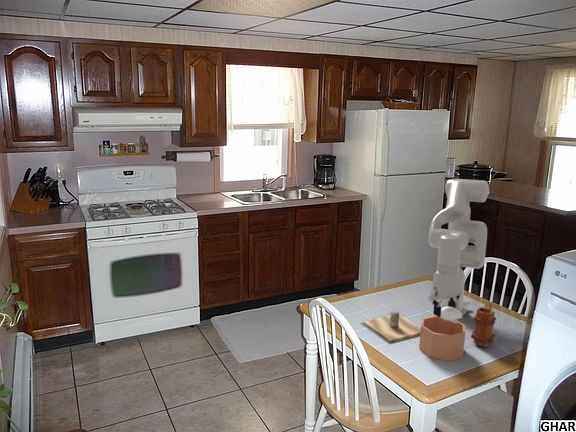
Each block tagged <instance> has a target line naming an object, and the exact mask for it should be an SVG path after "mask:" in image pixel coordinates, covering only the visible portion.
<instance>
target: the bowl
mask: <svg viewBox="0 0 576 432" xmlns="http://www.w3.org/2000/svg"><path fill="white" fill-rule="evenodd" d="M453 321H455V322H457V323H454V322H451V321H450V320H449V321H448V320H444V319H442V318H441V317H438V316H436V315H433V316H428V317H424V318H423V317H422V318H421V325H420V328H421V331H420V337H419V347H418V349H419V350H420V351H422V352H423V353H424V354H426V355H427V356H429V358H430V359H434V360H440V361H445V362H451V361H455V360H459V359H462V358H464V350H465V348H464V347H465V337H466V324H465V323H462V322H460V321H459V320H458V319H457V320H453Z"/></svg>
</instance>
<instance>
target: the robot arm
mask: <svg viewBox="0 0 576 432" xmlns="http://www.w3.org/2000/svg"><path fill="white" fill-rule="evenodd" d="M489 191H490V186H489V183H488V181H486V180H483V179H482V180H479V179H465V178H464V179H463V178H451V179H448V180H447V181H446V183H445V194H446V198H447V200H446V206H445V208H443V209H442V210H440V211H439V212H438V213H437V214H436V215H435V216H434V217H433V218H432V221H431V222H430V226H429V231H428V238H427V240H428V244H429V246H430V247H432V248H434V249H438V253H437V255H438V256H437V266H436V271H435V272H434V274H433V276H432V277H433V279H432V283H431V288H430V289H431V291H430V294H429V295H428V300H429V301H430V302H431V303H432V305H433V316H438V317H440V316H441V308H443V307H453V308H456V309H457V310H459V311H461V313H462V317H463V316H465V315H466V309H465V307H466V306H470V305H471V301H469V300H467V301H464V293H465V281H466V275H465V272H464V270H463V269H462V268H469V269H481V268H483V266H484V264H485V259H486V249H487V240H488V227H487V224H486V223H485V222H483V221H479V220H471V211H472V210H471V207H470V202H474V203H475V202H476V203H485V202H486V201H487V199H488V196H489ZM446 224H448V226H447V227H448V229H447V228H440V227H442V226H443V225H446ZM469 243H472V244H474V245H469Z"/></svg>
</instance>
